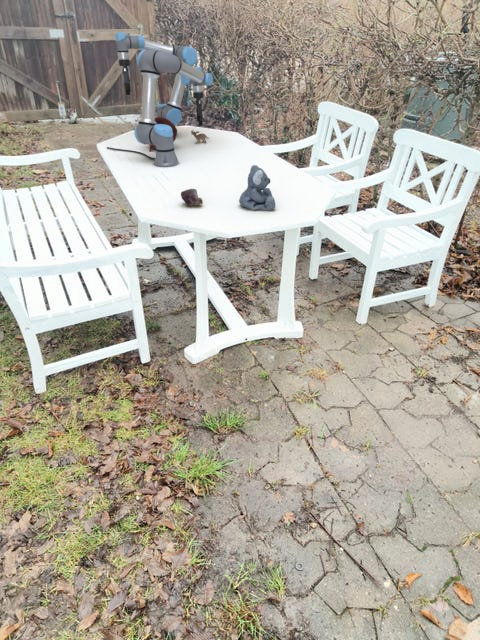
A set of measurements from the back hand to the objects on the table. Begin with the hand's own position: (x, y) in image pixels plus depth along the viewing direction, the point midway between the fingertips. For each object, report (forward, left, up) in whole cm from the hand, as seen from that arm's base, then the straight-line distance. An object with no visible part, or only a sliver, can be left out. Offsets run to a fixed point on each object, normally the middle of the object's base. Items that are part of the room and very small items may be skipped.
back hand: (128, 93), depth 321 cm
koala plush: (+155, -41, -34) cm, 164 cm away
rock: (+129, -62, -34) cm, 147 cm away
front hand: (+36, +34, -21) cm, 54 cm away
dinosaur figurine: (+36, +34, -34) cm, 60 cm away
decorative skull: (+25, +5, -34) cm, 43 cm away
